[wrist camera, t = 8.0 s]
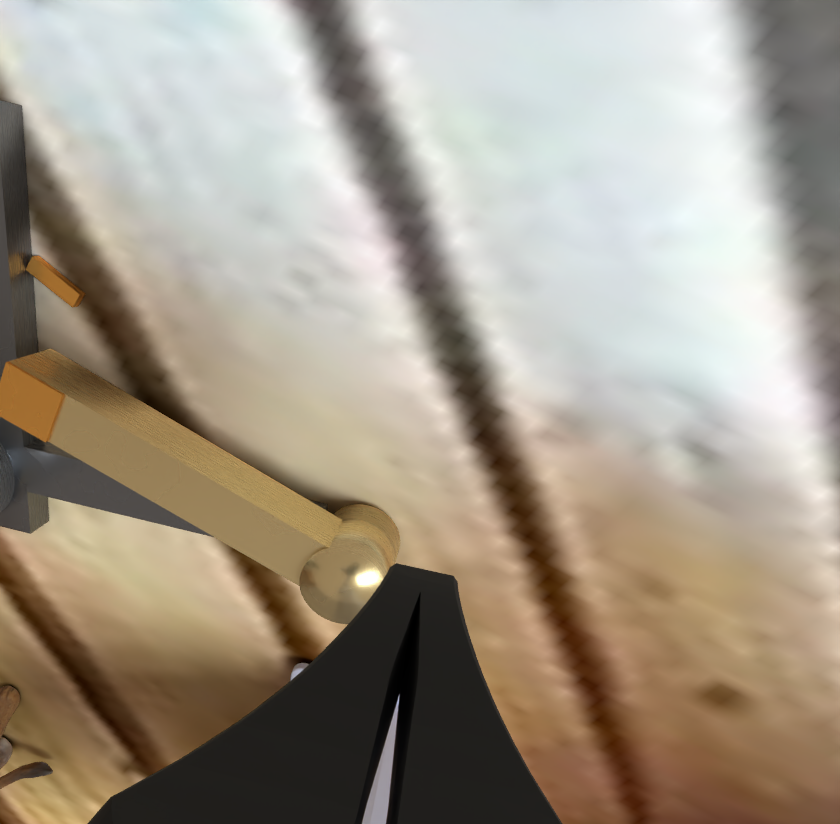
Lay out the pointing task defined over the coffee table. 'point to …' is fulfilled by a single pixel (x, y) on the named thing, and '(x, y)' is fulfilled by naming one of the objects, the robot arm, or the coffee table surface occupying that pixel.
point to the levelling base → (17, 337)
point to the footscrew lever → (203, 483)
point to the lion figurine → (3, 705)
